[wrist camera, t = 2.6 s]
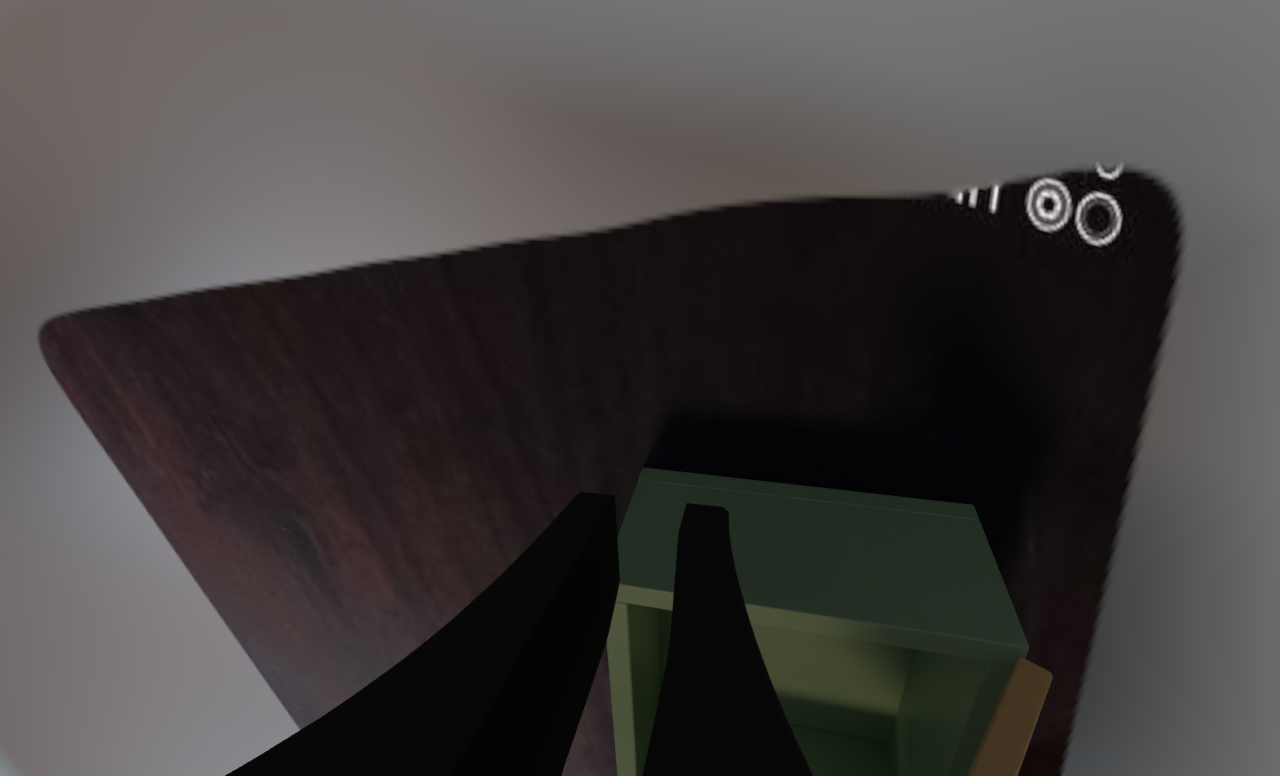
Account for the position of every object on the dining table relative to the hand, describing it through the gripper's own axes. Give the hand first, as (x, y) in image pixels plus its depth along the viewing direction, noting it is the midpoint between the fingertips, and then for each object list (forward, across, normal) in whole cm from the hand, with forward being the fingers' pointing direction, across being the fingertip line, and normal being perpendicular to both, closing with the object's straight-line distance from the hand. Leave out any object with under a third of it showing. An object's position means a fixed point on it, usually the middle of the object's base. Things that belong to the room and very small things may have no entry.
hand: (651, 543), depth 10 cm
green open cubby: (+10, -4, +13) cm, 17 cm away
